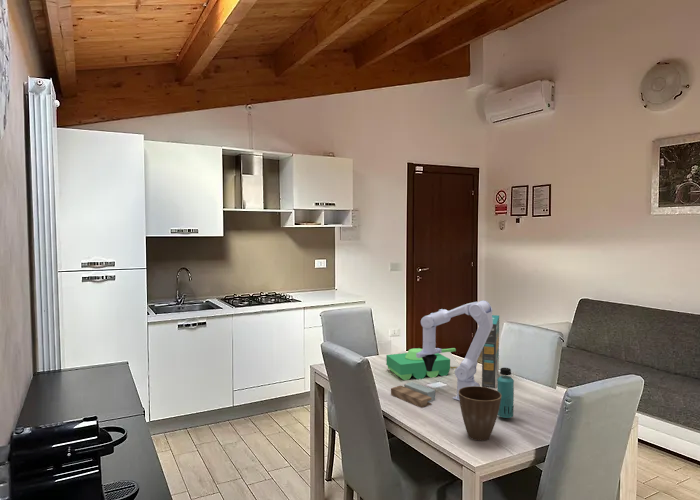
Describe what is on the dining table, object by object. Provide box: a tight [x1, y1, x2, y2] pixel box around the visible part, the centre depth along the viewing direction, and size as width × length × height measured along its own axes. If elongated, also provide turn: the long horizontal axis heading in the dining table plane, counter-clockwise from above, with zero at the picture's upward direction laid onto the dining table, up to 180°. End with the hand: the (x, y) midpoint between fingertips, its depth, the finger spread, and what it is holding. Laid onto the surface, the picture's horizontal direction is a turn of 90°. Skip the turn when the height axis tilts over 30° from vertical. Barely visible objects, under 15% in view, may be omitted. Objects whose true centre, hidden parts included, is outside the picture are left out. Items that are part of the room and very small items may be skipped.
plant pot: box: [458, 386, 501, 442], centre depth 178 cm, size 15×15×16 cm
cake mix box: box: [481, 314, 500, 389], centre depth 239 cm, size 22×6×30 cm, turn 160°
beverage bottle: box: [496, 367, 515, 419], centre depth 194 cm, size 6×7×20 cm
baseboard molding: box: [439, 352, 460, 369], centre depth 275 cm, size 31×3×12 cm
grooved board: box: [390, 385, 432, 408], centre depth 215 cm, size 19×6×3 cm, turn 37°
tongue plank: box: [403, 381, 436, 403], centre depth 218 cm, size 14×6×4 cm, turn 38°
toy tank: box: [385, 347, 457, 381], centre depth 253 cm, size 18×12×35 cm
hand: (429, 370), depth 225 cm, fingers closed
